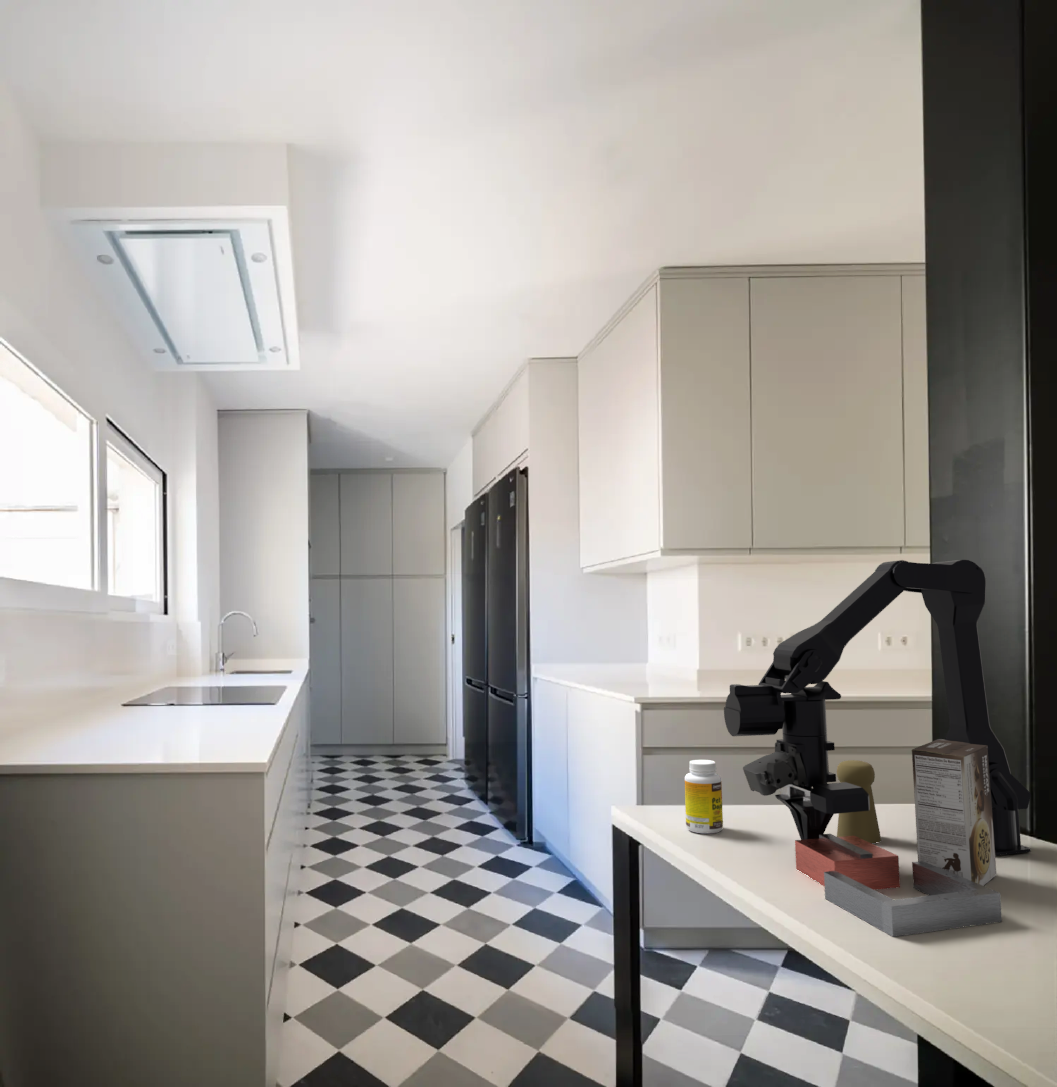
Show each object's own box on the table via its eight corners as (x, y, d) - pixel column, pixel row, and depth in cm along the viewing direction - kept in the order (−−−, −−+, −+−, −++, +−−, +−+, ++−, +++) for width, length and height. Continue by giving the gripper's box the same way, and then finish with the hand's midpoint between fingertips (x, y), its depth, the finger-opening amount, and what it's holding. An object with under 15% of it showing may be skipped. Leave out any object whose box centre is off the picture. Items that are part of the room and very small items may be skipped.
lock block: (855, 866, 106) (854, 831, 106) (900, 889, 97) (898, 851, 98) (796, 872, 104) (794, 836, 105) (835, 896, 96) (834, 856, 96)
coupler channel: (924, 886, 97) (922, 860, 97) (1001, 921, 86) (1000, 892, 86) (825, 898, 94) (823, 871, 94) (892, 936, 83) (891, 906, 83)
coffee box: (943, 865, 105) (935, 738, 106) (998, 876, 101) (990, 743, 102) (916, 882, 99) (909, 747, 100) (974, 895, 94) (965, 753, 95)
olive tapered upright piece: (885, 844, 114) (881, 765, 115) (840, 843, 116) (836, 764, 116) (876, 833, 120) (872, 757, 121) (833, 831, 121) (829, 757, 122)
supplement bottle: (716, 836, 120) (714, 766, 121) (680, 831, 123) (678, 763, 124) (728, 827, 125) (725, 759, 126) (693, 823, 128) (691, 757, 128)
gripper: (717, 727, 117) (722, 838, 115) (789, 748, 99) (795, 880, 97) (786, 723, 119) (791, 832, 118) (869, 742, 101) (876, 871, 100)
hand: (810, 852), depth 108 cm, fingers closed
